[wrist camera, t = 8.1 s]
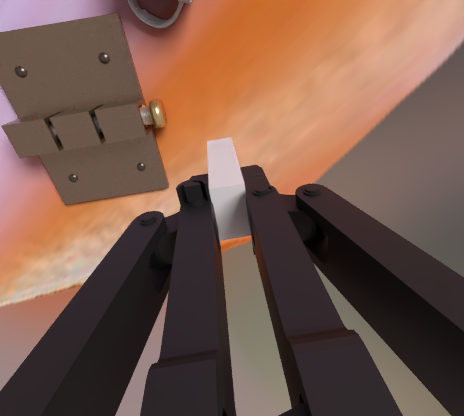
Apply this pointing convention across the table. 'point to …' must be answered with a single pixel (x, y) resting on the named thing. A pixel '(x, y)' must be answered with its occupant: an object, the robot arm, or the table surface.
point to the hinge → (80, 108)
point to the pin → (149, 115)
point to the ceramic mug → (153, 20)
